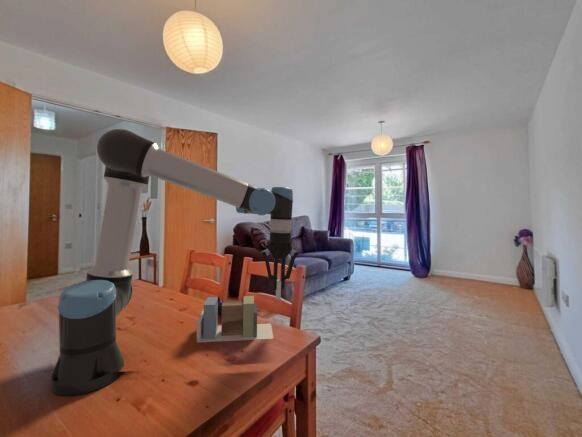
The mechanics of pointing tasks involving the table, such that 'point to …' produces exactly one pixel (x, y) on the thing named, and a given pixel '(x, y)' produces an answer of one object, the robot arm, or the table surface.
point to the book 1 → (210, 317)
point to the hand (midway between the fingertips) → (278, 298)
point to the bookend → (255, 320)
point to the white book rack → (262, 333)
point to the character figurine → (219, 306)
